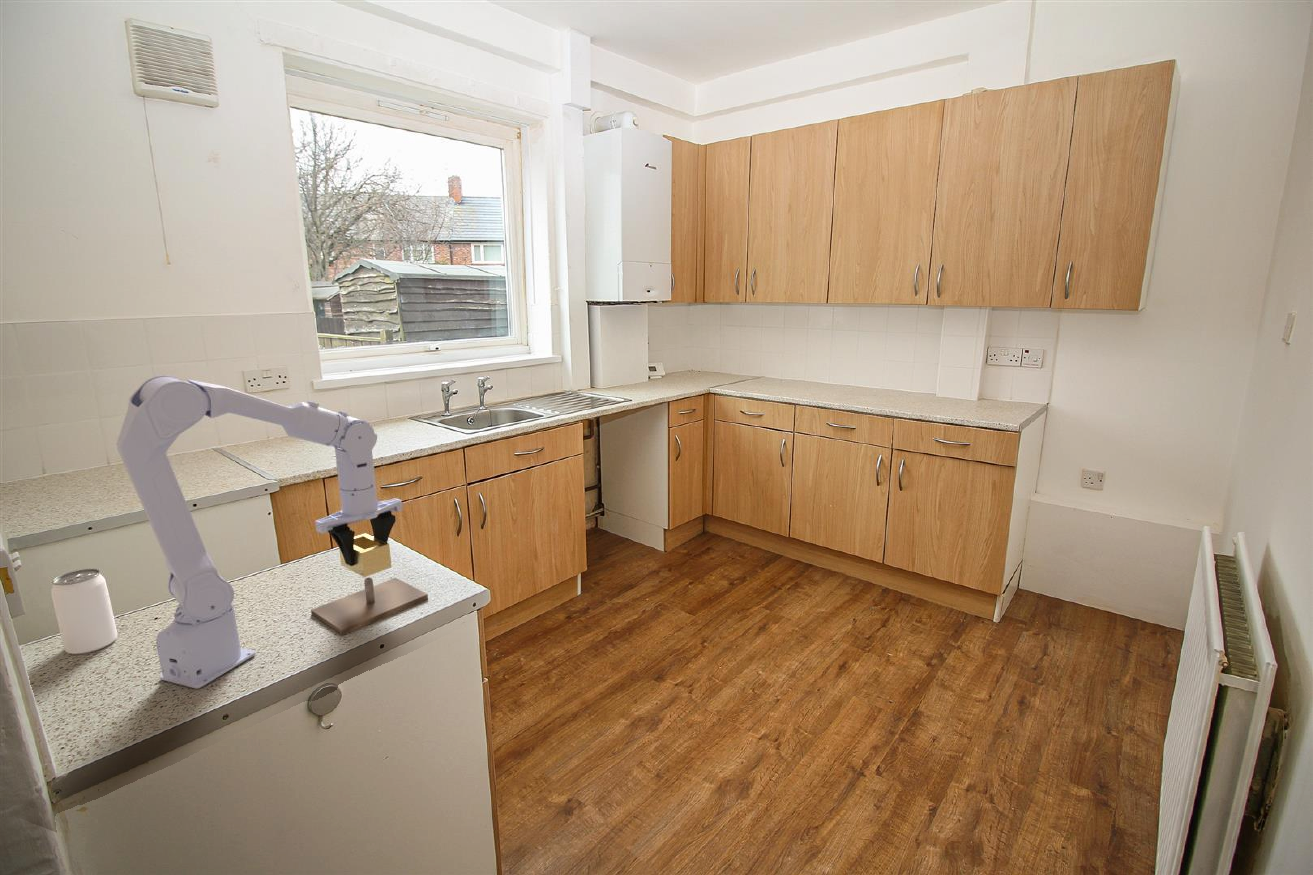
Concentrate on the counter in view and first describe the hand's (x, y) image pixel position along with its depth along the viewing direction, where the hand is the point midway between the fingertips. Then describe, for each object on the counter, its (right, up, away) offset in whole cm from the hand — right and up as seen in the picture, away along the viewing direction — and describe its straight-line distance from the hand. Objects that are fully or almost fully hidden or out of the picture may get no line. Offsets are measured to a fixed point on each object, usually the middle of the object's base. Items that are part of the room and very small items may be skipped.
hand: (365, 558), depth 112 cm
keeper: (0, -9, +2) cm, 9 cm away
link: (0, -1, 0) cm, 2 cm away
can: (-40, -12, -10) cm, 43 cm away
